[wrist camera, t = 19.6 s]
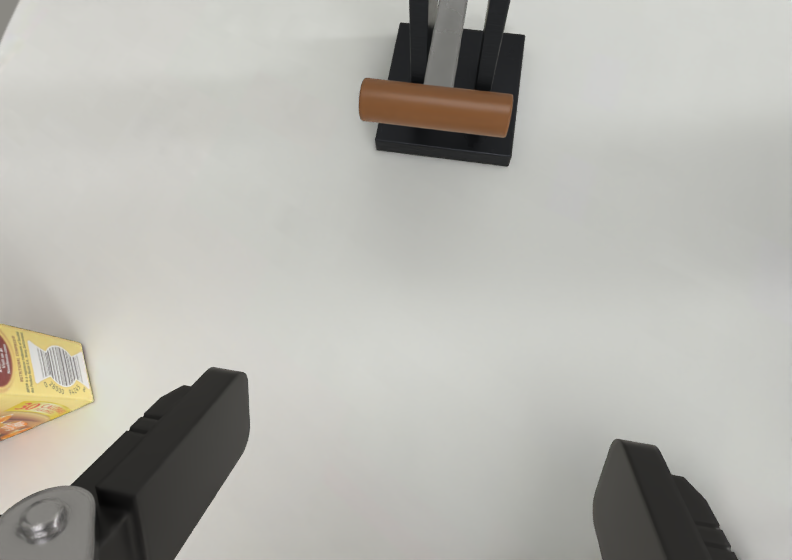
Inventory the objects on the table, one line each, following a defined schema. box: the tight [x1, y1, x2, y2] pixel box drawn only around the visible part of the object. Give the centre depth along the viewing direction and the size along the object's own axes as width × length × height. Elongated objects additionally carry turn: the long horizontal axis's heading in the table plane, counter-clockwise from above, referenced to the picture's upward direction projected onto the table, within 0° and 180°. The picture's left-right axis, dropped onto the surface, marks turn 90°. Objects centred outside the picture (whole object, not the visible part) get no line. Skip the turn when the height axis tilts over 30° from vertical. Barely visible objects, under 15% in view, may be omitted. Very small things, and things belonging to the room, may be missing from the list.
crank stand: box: [375, 0, 525, 166], centre depth 27 cm, size 10×9×15 cm
